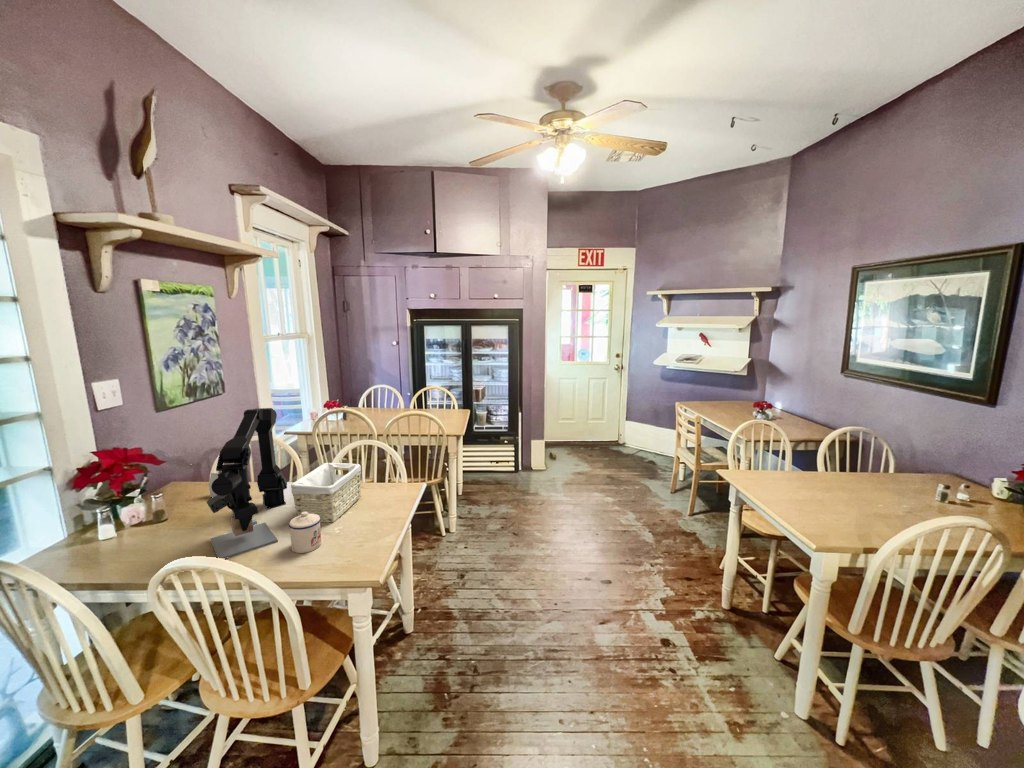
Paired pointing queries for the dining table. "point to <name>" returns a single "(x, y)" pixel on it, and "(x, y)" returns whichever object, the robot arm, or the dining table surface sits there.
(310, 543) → the lidded ceramic jar
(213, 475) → the grey block
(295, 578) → the dining table surface
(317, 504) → the storage basket
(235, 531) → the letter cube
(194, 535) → the dining table surface
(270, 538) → the tile
